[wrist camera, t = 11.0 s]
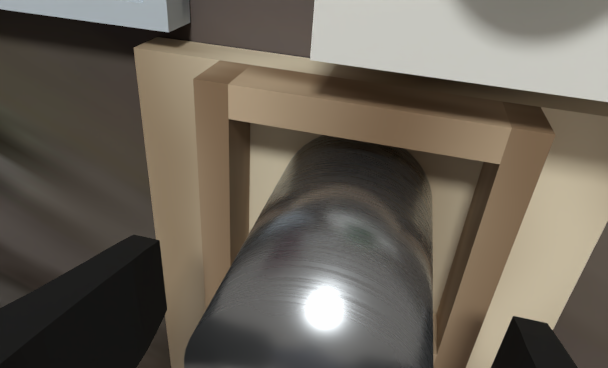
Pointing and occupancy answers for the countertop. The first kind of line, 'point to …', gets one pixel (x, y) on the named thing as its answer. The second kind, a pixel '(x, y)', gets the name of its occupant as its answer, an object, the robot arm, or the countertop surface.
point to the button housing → (472, 41)
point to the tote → (111, 11)
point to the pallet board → (386, 131)
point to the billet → (330, 268)
